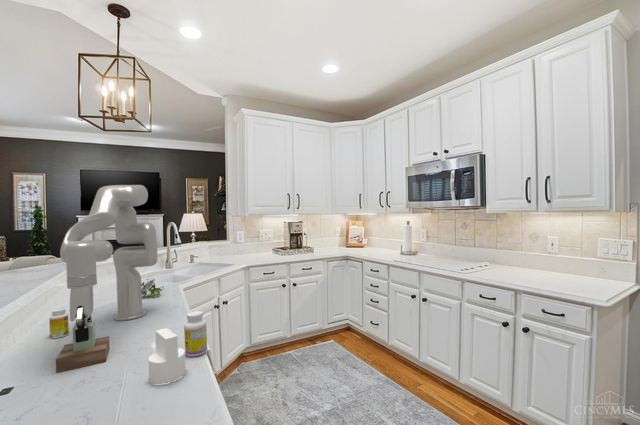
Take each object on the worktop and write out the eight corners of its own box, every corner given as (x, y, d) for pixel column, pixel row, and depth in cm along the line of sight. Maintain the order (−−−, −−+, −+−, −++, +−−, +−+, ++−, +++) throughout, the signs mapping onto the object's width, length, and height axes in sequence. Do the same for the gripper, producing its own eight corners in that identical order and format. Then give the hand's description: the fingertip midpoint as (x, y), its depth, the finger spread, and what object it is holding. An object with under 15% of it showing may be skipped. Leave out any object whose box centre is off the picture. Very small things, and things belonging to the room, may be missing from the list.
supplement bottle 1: (67, 336, 117) (66, 310, 117) (48, 340, 115) (47, 313, 115) (70, 332, 122) (69, 306, 122) (52, 335, 120) (51, 309, 120)
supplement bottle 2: (185, 350, 101) (184, 311, 101) (207, 346, 104) (205, 308, 104) (184, 359, 95) (183, 318, 95) (207, 355, 97) (205, 314, 97)
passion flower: (144, 307, 172) (135, 289, 175) (163, 299, 180) (155, 281, 183) (147, 299, 165) (138, 280, 168) (167, 291, 173) (158, 273, 176)
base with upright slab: (145, 377, 85) (143, 334, 85) (178, 365, 92) (177, 324, 92) (155, 389, 79) (153, 343, 79) (190, 375, 85) (189, 332, 85)
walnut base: (65, 357, 100) (64, 344, 100) (109, 347, 106) (109, 336, 106) (56, 373, 89) (55, 359, 89) (106, 361, 95) (105, 348, 95)
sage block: (76, 346, 99) (75, 324, 99) (95, 342, 101) (94, 320, 101) (73, 351, 94) (72, 329, 94) (93, 347, 97) (92, 325, 97)
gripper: (72, 278, 103) (74, 331, 103) (60, 288, 88) (63, 350, 88) (99, 275, 107) (101, 326, 107) (92, 284, 92) (95, 344, 92)
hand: (84, 336), depth 98 cm, fingers open, 6 cm apart
